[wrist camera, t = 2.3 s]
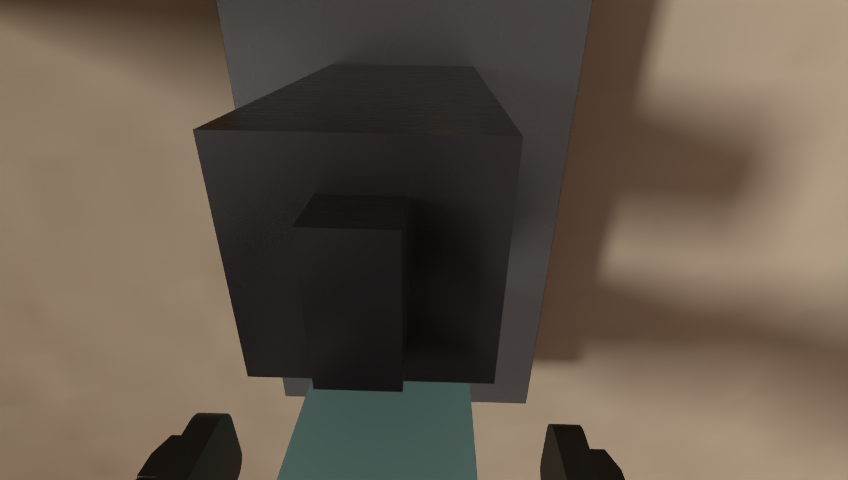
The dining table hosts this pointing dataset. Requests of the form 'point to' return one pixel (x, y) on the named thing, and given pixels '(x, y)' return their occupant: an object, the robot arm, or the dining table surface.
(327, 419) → the plug
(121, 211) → the dining table surface
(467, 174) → the gray slotted rack
